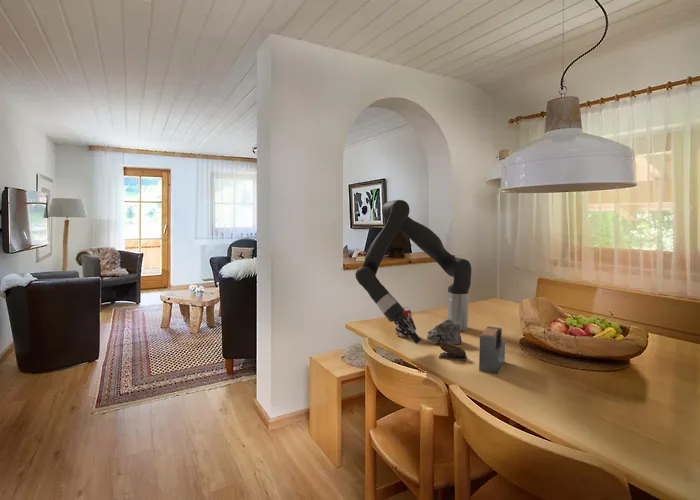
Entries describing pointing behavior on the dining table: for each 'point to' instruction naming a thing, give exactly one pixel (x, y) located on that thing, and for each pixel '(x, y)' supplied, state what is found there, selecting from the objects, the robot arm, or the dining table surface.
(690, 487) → the dining table surface
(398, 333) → the soda can
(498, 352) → the bracket
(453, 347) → the figurine
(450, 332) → the mineral rock
